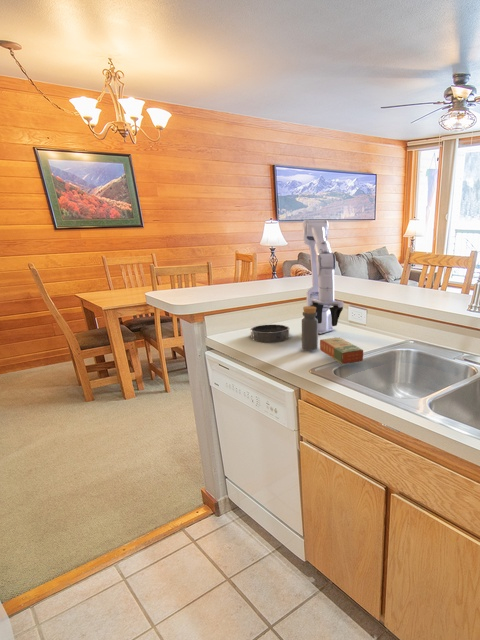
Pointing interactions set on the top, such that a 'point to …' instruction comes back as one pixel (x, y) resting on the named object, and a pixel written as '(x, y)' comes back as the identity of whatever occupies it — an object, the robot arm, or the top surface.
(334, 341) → the carton
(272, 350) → the top surface
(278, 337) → the pan
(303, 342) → the bottle
